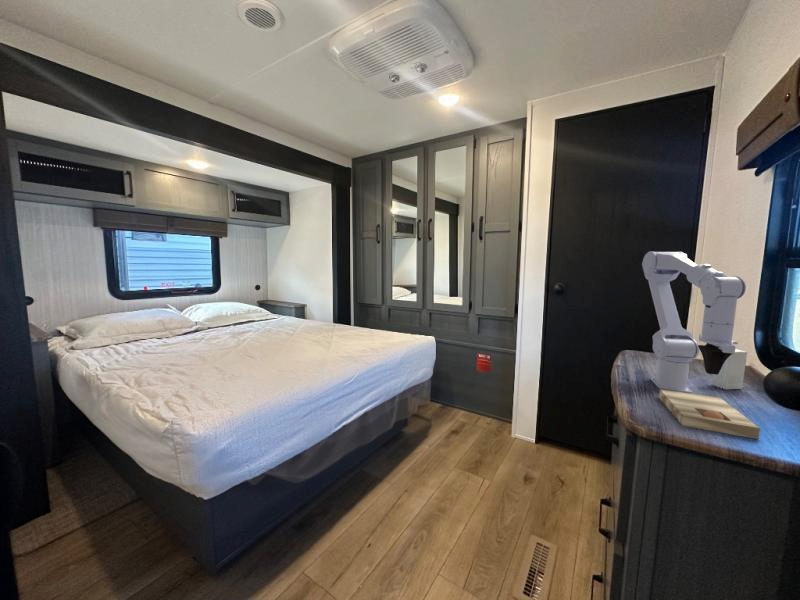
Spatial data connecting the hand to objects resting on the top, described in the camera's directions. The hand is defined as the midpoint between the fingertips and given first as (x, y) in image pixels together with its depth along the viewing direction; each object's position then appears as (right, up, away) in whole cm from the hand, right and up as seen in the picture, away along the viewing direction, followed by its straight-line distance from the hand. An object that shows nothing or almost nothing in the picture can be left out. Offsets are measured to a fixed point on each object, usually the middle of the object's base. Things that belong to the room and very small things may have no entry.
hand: (711, 373), depth 84 cm
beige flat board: (-6, -10, -4) cm, 12 cm away
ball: (-9, -9, -9) cm, 15 cm away
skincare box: (+20, -8, +16) cm, 27 cm away
